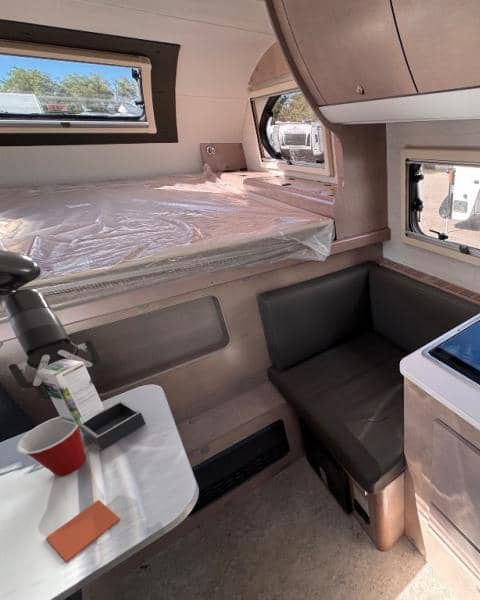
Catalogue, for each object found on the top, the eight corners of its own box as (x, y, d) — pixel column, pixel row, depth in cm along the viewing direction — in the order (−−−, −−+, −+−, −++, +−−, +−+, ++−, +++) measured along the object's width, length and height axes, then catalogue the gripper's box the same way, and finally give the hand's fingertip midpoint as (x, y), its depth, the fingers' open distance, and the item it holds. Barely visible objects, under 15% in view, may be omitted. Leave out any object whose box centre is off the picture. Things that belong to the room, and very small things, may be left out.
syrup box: (61, 421, 76) (33, 371, 70) (88, 404, 82) (65, 356, 76) (80, 426, 75) (53, 375, 69) (106, 408, 80) (83, 360, 74)
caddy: (103, 450, 86) (96, 438, 84) (84, 436, 90) (77, 424, 88) (145, 423, 94) (140, 412, 92) (126, 411, 98) (121, 400, 96)
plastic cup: (30, 476, 79) (5, 440, 74) (84, 443, 88) (65, 409, 83) (52, 494, 75) (28, 458, 70) (107, 457, 84) (88, 423, 79)
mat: (66, 562, 63) (66, 561, 62) (46, 539, 66) (45, 537, 66) (120, 519, 70) (119, 518, 70) (99, 500, 74) (98, 499, 73)
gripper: (-11, 338, 68) (25, 405, 67) (79, 313, 78) (112, 371, 77) (-2, 350, 73) (31, 413, 72) (82, 326, 84) (112, 380, 82)
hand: (73, 391), depth 74 cm, fingers closed on syrup box, 7 cm apart
